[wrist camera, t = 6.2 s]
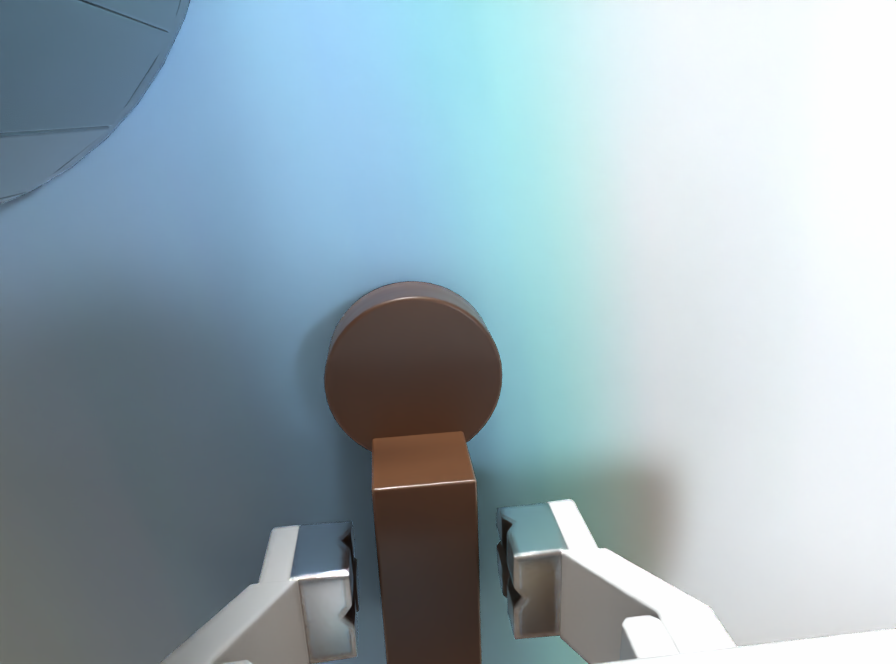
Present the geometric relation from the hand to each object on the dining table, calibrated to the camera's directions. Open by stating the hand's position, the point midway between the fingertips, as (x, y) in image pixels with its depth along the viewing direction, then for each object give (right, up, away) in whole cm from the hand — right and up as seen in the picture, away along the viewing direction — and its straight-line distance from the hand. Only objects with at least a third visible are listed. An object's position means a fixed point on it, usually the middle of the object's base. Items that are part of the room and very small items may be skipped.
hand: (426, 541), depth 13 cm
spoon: (0, +1, +2) cm, 2 cm away
